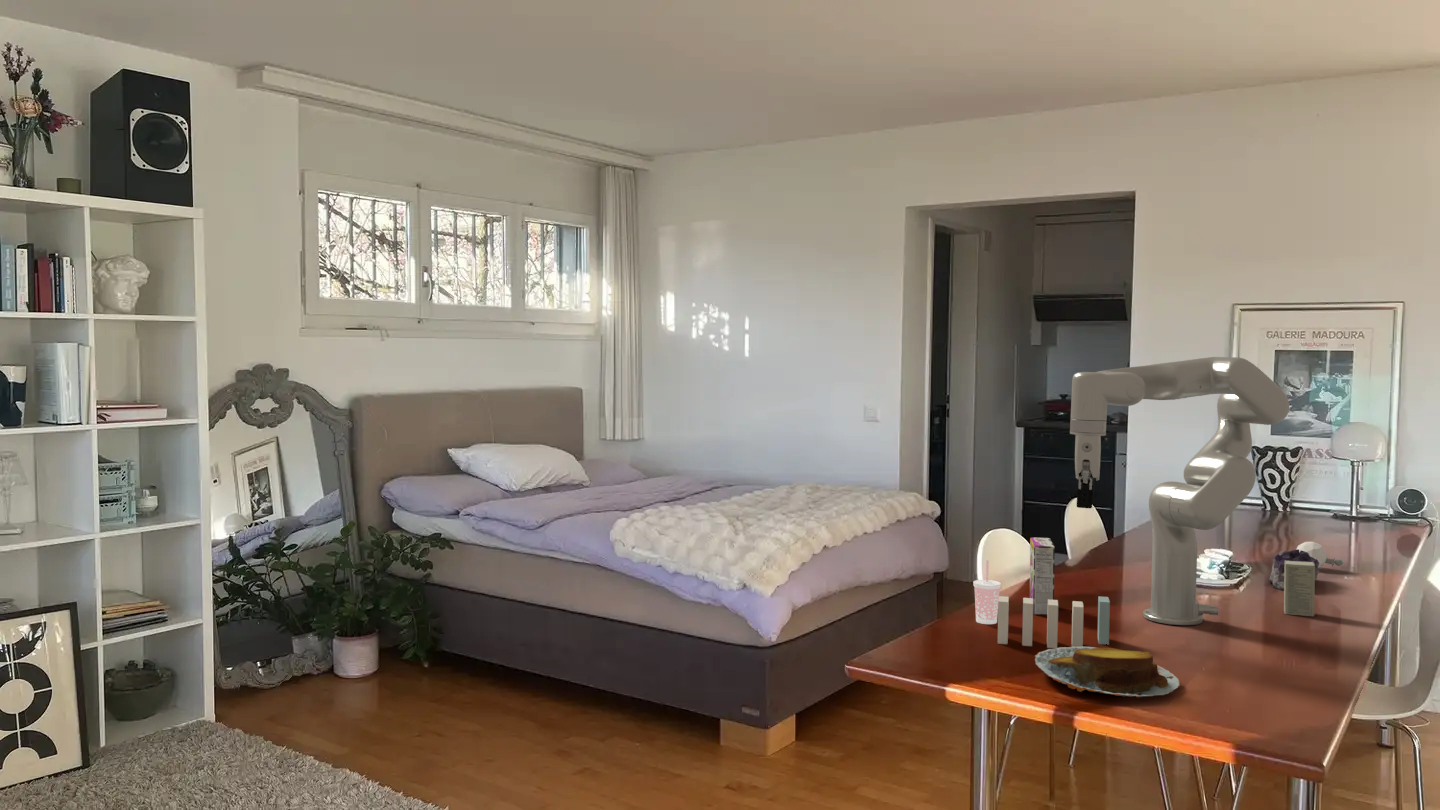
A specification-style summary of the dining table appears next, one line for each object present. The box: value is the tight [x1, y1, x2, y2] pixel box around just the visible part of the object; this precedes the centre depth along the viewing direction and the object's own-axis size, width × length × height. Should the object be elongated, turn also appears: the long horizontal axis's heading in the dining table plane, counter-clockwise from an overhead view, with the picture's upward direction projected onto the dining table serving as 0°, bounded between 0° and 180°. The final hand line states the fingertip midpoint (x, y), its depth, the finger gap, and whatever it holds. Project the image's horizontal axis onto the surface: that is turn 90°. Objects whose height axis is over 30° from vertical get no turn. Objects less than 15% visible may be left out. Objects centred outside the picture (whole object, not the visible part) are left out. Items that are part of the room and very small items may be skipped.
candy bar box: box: [1029, 537, 1056, 616], centre depth 252 cm, size 11×5×16 cm, turn 168°
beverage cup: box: [972, 560, 1002, 625], centre depth 241 cm, size 6×6×14 cm
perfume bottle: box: [1295, 541, 1344, 569], centre depth 298 cm, size 8×8×12 cm
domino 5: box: [1097, 596, 1111, 646], centre depth 225 cm, size 2×5×9 cm, turn 164°
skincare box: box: [1283, 560, 1316, 617], centre depth 249 cm, size 6×4×12 cm
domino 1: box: [997, 595, 1010, 645], centre depth 225 cm, size 2×5×9 cm, turn 163°
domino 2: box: [1021, 597, 1034, 647], centre depth 224 cm, size 2×5×9 cm, turn 164°
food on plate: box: [1034, 645, 1181, 698], centre depth 199 cm, size 26×26×7 cm
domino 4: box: [1071, 600, 1085, 647], centre depth 221 cm, size 2×5×9 cm, turn 164°
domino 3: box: [1046, 599, 1059, 649], centre depth 222 cm, size 2×5×9 cm, turn 163°
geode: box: [1268, 548, 1319, 592], centre depth 280 cm, size 20×12×10 cm, turn 145°
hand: (1084, 504), depth 235 cm, fingers open, 9 cm apart
